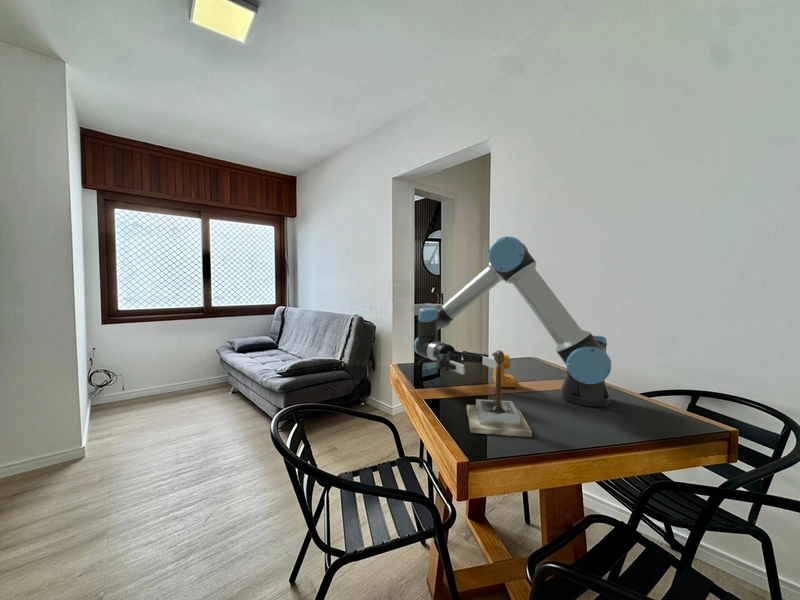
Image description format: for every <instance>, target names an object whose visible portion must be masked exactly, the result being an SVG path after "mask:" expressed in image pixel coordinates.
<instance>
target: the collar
mask: <svg viewBox="0 0 800 600" xmlns="http://www.w3.org/2000/svg"><path fill="white" fill-rule="evenodd" d="M501 401H502V408H503V409H504V411H505V412H509V414H507V413H492V412H484V411H490V410H491V408H492V407H493V403H494V399H481V398H479V399H478V398H476V399H475V405H476V412H477V416H478V420H479V424H489V425H503V426H517V427H520V415H519V413H518V411H517V409H516V408H517V407H516V406H515V404H514V402H513V401H512V400H501ZM495 404H496V399H495ZM495 404H494V406H495ZM500 406H501V403H500ZM483 410H484V411H483Z"/></svg>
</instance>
